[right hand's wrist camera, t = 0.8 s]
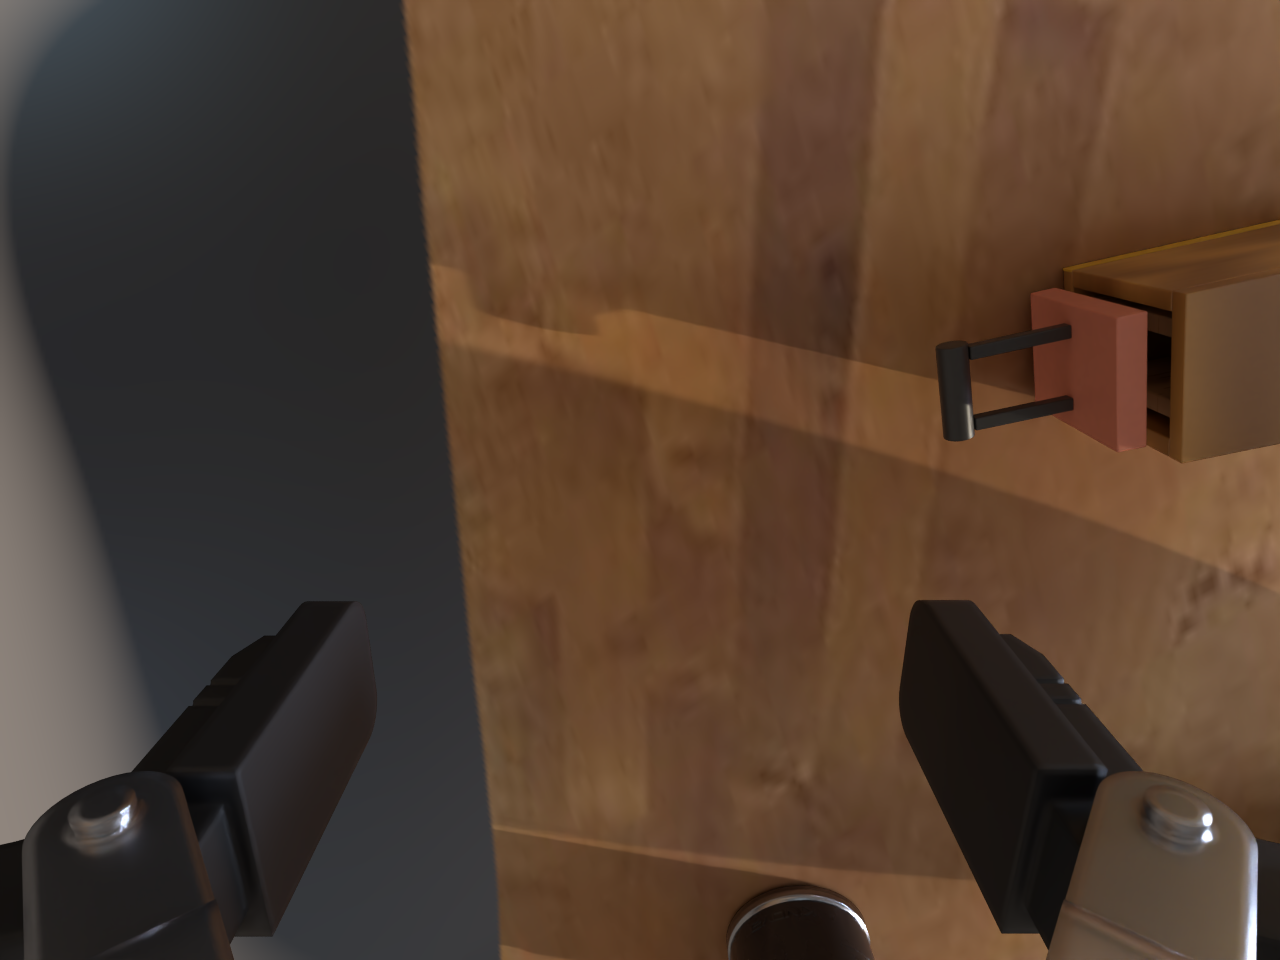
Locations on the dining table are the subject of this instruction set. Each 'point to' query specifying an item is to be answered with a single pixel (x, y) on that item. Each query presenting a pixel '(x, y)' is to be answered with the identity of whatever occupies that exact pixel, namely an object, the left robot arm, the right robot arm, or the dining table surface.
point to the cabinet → (1208, 335)
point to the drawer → (1073, 369)
